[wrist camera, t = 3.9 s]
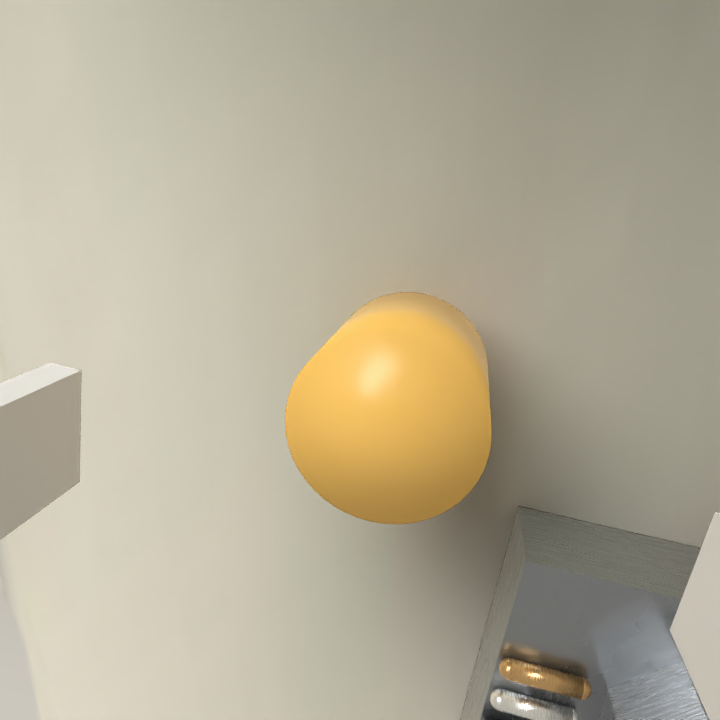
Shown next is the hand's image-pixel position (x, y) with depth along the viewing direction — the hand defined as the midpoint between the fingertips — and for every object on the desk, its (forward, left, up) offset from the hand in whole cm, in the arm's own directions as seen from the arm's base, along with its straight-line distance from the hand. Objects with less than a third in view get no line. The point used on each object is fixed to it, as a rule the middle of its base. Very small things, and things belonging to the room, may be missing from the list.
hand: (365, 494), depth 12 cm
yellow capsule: (0, 0, -10) cm, 10 cm away
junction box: (+11, -11, -10) cm, 18 cm away
